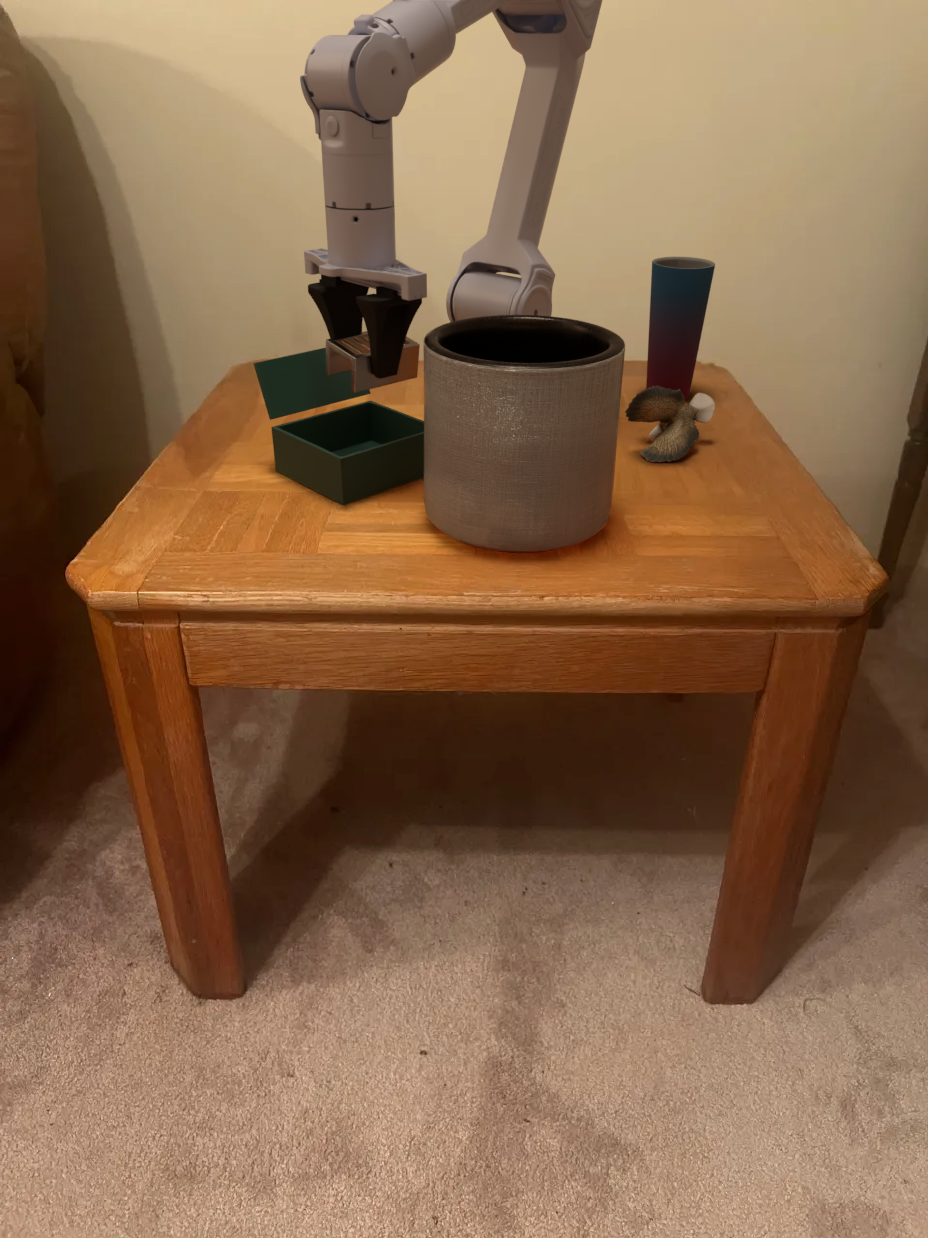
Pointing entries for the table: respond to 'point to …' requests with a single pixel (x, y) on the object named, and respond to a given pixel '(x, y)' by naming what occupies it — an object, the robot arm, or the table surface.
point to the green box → (351, 451)
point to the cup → (676, 320)
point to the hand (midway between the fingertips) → (366, 368)
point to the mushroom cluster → (670, 420)
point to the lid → (301, 383)
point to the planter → (520, 430)
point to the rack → (367, 361)
